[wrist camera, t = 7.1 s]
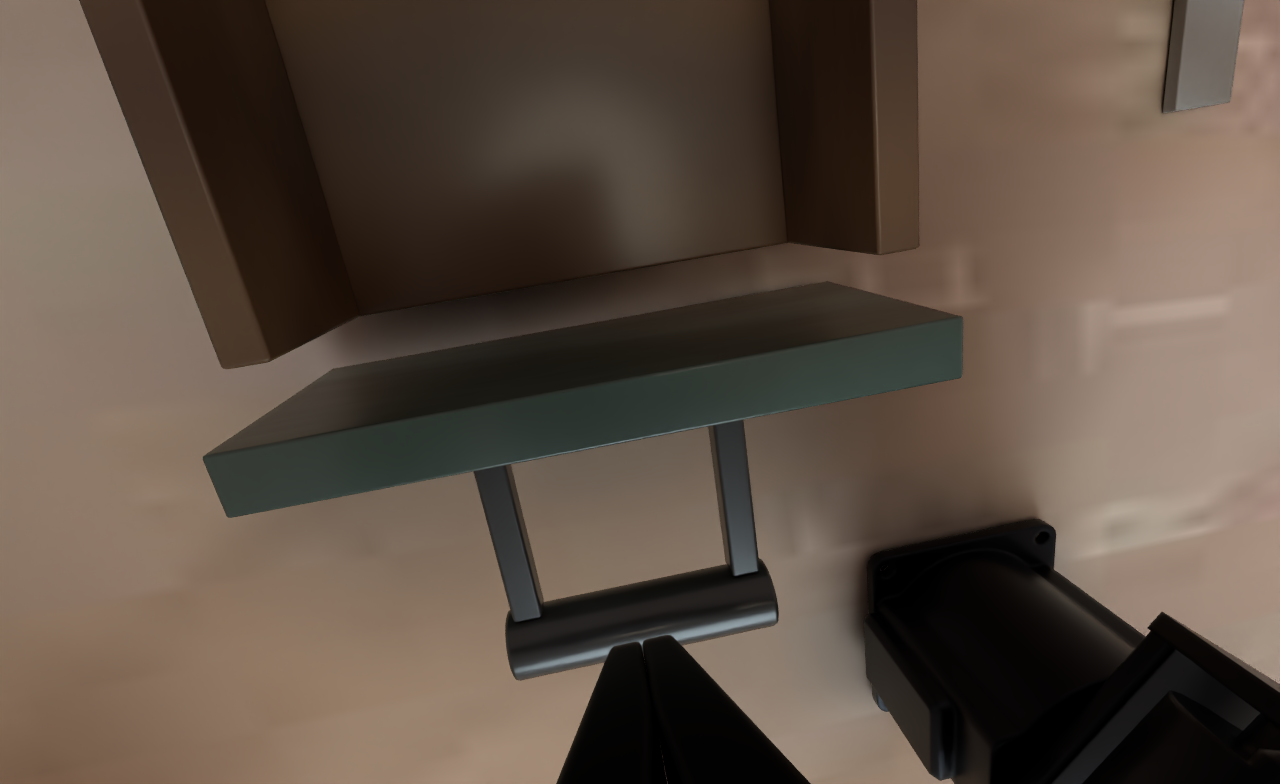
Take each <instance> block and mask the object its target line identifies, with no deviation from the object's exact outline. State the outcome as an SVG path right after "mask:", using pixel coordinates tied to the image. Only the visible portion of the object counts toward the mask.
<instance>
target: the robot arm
mask: <svg viewBox="0 0 1280 784" xmlns="http://www.w3.org/2000/svg"><path fill="white" fill-rule="evenodd" d="M1038 534H1039V535H1038ZM1037 535H1038V536H1037ZM1036 536H1037V537H1036ZM1055 542H1056V532H1055V529H1054V528H1053V527H1052V526H1050V525H1049V524H1047V523H1046V522H1044V521H1042V520H1040V519H1033V520H1028V521H1024V522H1019V523H1014V524H1009V525H1005V526H1000V527H995V528H990V529H986V530H981V531H976V532H971V533H967V534H962V535H957V536H952V537H948V538H943V539H938V540H933V541H929V542H924V543H919V544H914V545H909V546H905V547H900V548H895V549H890V550H886V551H881V552H878V553H876V554H874V555H873V556H872V557H871V558H870V559H869V561H868V563H867V582H868V605H869V613H868V614H867V615H866V618H865V620H864V635H865V657H866V675H867V678H868V680H869V681H870V683H871V684H872V695H873V699H874V700H875V702H876V704H877V705H878V707H879V708H880V709H881V710H882V711H886V712H890V714H891V715H892V717H893V718H894V720H895V721H896V723H897V724H898V726H899V727H900V729H901V731H902V732H903V734H904V735H905V737H906V738H907V740H908V741H909V743H910V744H911V746H912V748H913V749H914V751H915V752H916V754H917V755H918V757H919V758H920V760H921V761H922V763H923V765H924V766H925V768H926V769H927V771H928V772H929V774H931V775H932V776H934V777H935V778H937V779H938V780H945V779H949V778H951V779H952V781H953V782H954V784H1280V684H1278V683H1277V682H1275V681H1274V680H1272V679H1270V678H1269V677H1267V676H1266V675H1264V674H1262V673H1261V672H1259V671H1258V670H1256V669H1254V668H1253V667H1251V666H1250V665H1248V664H1246V663H1245V662H1243V661H1241V660H1240V659H1238V658H1237V657H1235V656H1233V655H1232V654H1230V653H1228V652H1227V651H1225V650H1224V649H1222V648H1220V647H1219V646H1217V645H1215V644H1214V643H1212V642H1211V641H1209V640H1207V639H1206V638H1204V637H1202V636H1201V635H1199V634H1198V633H1196V632H1194V631H1193V630H1191V629H1190V628H1188V627H1186V626H1185V625H1183V624H1181V623H1180V622H1178V621H1177V620H1175V619H1173V618H1172V617H1170V616H1168V615H1167V614H1165V613H1164V612H1161V613H1160V614H1159V615H1158V617H1157V618H1156V619H1155V620H1154V621H1153V622H1152V623H1151V624H1150V625H1149V627H1148V629H1150V630H1151V631H1150V632H1149V634H1148V635H1147V636H1146V637H1145V636H1144V635H1142V634H1141V633H1140V632H1138V631H1137V630H1136V629H1134V628H1133V627H1132V626H1130V625H1129V624H1127V623H1126V622H1125V621H1123V620H1122V619H1121V618H1119V617H1118V616H1117V615H1115V614H1114V613H1112V612H1111V611H1110V610H1108V609H1107V608H1106V607H1104V606H1103V605H1102V604H1100V603H1099V602H1097V601H1096V600H1095V599H1093V598H1092V597H1091V596H1089V595H1088V594H1087V593H1085V592H1084V591H1082V590H1081V589H1080V588H1078V587H1077V586H1076V585H1074V584H1073V583H1071V582H1070V581H1069V580H1067V579H1066V578H1065V577H1063V576H1062V575H1061V574H1059V573H1058V572H1056V571H1055V570H1054V557H1055ZM887 564H888V566H887V567H886V568H885V569H884V570H882V571H880V569H881V568H882V567H883V566H885V565H887ZM642 648H643V650H642ZM643 653H644V655H643ZM644 659H645V660H644ZM646 670H647V671H646ZM661 751H662V752H661ZM662 756H663V757H662ZM663 762H664V763H663ZM664 767H665V768H664ZM665 772H666V774H665ZM666 778H667V779H666ZM667 783H668V784H810V783H809V781H808V780H807V779H806V778H805V777H804V776H803V775H802V774H801V773H800V772H799V771H798V770H797V769H796V768H795V766H794V765H793V764H792V763H791V762H790V761H789V760H788V759H787V758H786V757H785V756H784V755H783V754H782V753H781V752H780V750H779V749H778V748H777V747H776V746H775V745H774V744H773V743H772V742H771V741H770V740H769V739H768V738H767V737H766V735H765V734H764V733H763V732H762V731H761V730H760V729H759V728H758V727H757V726H756V725H755V724H754V723H753V722H752V720H751V719H750V718H749V717H748V716H747V715H746V714H745V713H744V712H743V711H742V710H741V709H740V708H739V707H738V706H737V704H736V703H735V702H734V701H733V700H732V699H731V698H730V697H729V696H728V695H727V694H726V693H725V692H724V691H723V689H722V688H721V687H720V686H719V685H718V684H717V683H716V682H715V681H714V680H713V679H712V678H711V677H710V676H709V674H708V673H707V672H706V671H705V670H704V669H703V668H702V667H701V666H700V665H699V664H698V663H697V662H696V661H695V660H694V658H693V657H692V656H691V655H690V654H689V653H688V652H687V651H686V650H685V649H684V648H683V647H682V646H681V645H680V643H679V642H678V641H677V640H676V639H675V638H674V637H673V636H671V635H664V636H659V637H654V638H650V639H646V640H644V641H643V643H642V645H641V644H640V643H639V642H631V643H627V644H622V645H618V646H614V647H612V648H611V649H610V651H609V653H608V656H607V658H606V661H605V663H604V666H603V668H602V671H601V673H600V676H599V678H598V681H597V683H596V686H595V688H594V691H593V693H592V696H591V698H590V701H589V703H588V706H587V708H586V711H585V713H584V716H583V718H582V721H581V723H580V726H579V728H578V731H577V733H576V736H575V738H574V741H573V743H572V746H571V748H570V751H569V753H568V756H567V758H566V761H565V763H564V766H563V768H562V771H561V773H560V776H559V778H558V781H557V783H556V784H667Z"/></svg>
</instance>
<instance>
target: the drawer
mask: <svg viewBox="0 0 1280 784" xmlns="http://www.w3.org/2000/svg"><path fill="white" fill-rule="evenodd" d="M79 1H80V4H81V6H82V9H83V11H84V14H85V17H86V19H87V22H88V24H89V27H90V29H91V32H92V35H93V37H94V40H95V42H96V45H97V48H98V50H99V53H100V55H101V58H102V60H103V63H104V66H105V68H106V71H107V73H108V76H109V78H110V81H111V84H112V86H113V89H114V91H115V94H116V96H117V99H118V102H119V104H120V107H121V109H122V112H123V115H124V117H125V120H126V122H127V125H128V127H129V130H130V133H131V135H132V138H133V140H134V143H135V145H136V148H137V151H138V153H139V156H140V158H141V161H142V164H143V166H144V169H145V171H146V174H147V176H148V179H149V182H150V184H151V187H152V189H153V192H154V194H155V197H156V200H157V202H158V205H159V207H160V210H161V212H162V215H163V218H164V220H165V223H166V225H167V228H168V231H169V233H170V236H171V238H172V241H173V243H174V246H175V249H176V251H177V254H178V256H179V259H180V261H181V264H182V267H183V269H184V272H185V274H186V277H187V279H188V282H189V285H190V287H191V290H192V292H193V295H194V298H195V300H196V303H197V305H198V308H199V310H200V313H201V316H202V318H203V321H204V323H205V326H206V328H207V331H208V334H209V336H210V339H211V341H212V344H213V346H214V349H215V352H216V354H217V357H218V359H219V362H220V365H221V367H222V368H223V369H232V368H238V367H244V366H249V365H255V364H261V363H266V362H270V361H272V360H274V359H276V358H278V357H280V356H282V355H284V354H286V353H288V352H290V351H292V350H294V349H296V348H298V347H300V346H301V345H303V344H305V343H307V342H309V341H311V340H313V339H315V338H317V337H319V336H321V335H323V334H325V333H327V332H329V331H331V330H333V329H335V328H337V327H339V326H341V325H343V324H345V323H347V322H349V321H351V320H353V319H355V318H357V317H359V316H365V315H371V314H376V313H382V312H388V311H394V310H400V309H406V308H411V307H417V306H423V305H429V304H435V303H440V302H446V301H452V300H458V299H464V298H470V297H475V296H481V295H487V294H493V293H499V292H505V291H510V290H516V289H522V288H528V287H534V286H540V285H545V284H551V283H557V282H563V281H569V280H574V279H580V278H586V277H592V276H598V275H604V274H609V273H615V272H621V271H627V270H633V269H639V268H644V267H650V266H656V265H662V264H668V263H674V262H679V261H685V260H691V259H697V258H703V257H708V256H714V255H720V254H726V253H732V252H738V251H743V250H749V249H755V248H761V247H767V246H773V245H778V244H784V243H794V244H801V245H809V246H816V247H823V248H831V249H838V250H845V251H853V252H860V253H867V254H874V255H884V254H890V253H895V252H901V251H907V250H912V249H916V248H918V247H919V151H918V48H917V0H79ZM962 374H963V317H962V316H958V315H954V314H950V313H947V312H943V311H939V310H935V309H931V308H928V307H924V306H920V305H916V304H912V303H909V302H905V301H901V300H897V299H893V298H890V297H886V296H882V295H878V294H874V293H871V292H867V291H863V290H859V289H855V288H852V287H848V286H844V285H840V284H836V283H833V282H829V281H826V282H821V283H815V284H809V285H804V286H798V287H792V288H787V289H781V290H776V291H770V292H764V293H759V294H753V295H747V296H742V297H736V298H730V299H725V300H719V301H713V302H708V303H702V304H696V305H691V306H685V307H679V308H674V309H668V310H663V311H657V312H651V313H646V314H640V315H634V316H629V317H623V318H617V319H612V320H606V321H600V322H595V323H589V324H583V325H578V326H572V327H567V328H561V329H555V330H550V331H544V332H538V333H533V334H527V335H521V336H516V337H510V338H504V339H499V340H493V341H487V342H482V343H476V344H470V345H465V346H459V347H454V348H448V349H442V350H437V351H431V352H425V353H420V354H414V355H408V356H403V357H397V358H391V359H386V360H380V361H374V362H369V363H363V364H357V365H352V366H346V367H341V368H335V369H332V370H331V371H329V372H328V373H326V374H325V375H323V376H322V377H320V378H319V379H317V380H316V381H314V382H313V383H311V384H310V385H308V386H307V387H305V388H304V389H302V390H301V391H299V392H298V393H296V394H295V395H294V396H292V397H291V398H289V399H288V400H286V401H285V402H283V403H282V404H280V405H279V406H277V407H276V408H274V409H273V410H271V411H270V412H268V413H267V414H265V415H264V416H262V417H261V418H259V419H258V420H256V421H255V422H253V423H252V424H250V425H249V426H247V427H246V428H244V429H243V430H241V431H240V432H238V433H237V434H236V435H234V436H233V437H231V438H230V439H228V440H227V441H225V442H224V443H222V444H221V445H219V446H218V447H216V448H215V449H213V450H212V451H210V452H209V453H207V454H206V455H204V456H203V461H204V463H205V466H206V468H207V471H208V473H209V475H210V478H211V480H212V482H213V485H214V487H215V490H216V492H217V494H218V497H219V499H220V502H221V504H222V506H223V509H224V511H225V513H226V516H227V517H228V518H232V517H238V516H243V515H248V514H253V513H258V512H264V511H269V510H274V509H279V508H285V507H290V506H295V505H300V504H305V503H311V502H316V501H321V500H326V499H332V498H337V497H342V496H347V495H352V494H358V493H363V492H368V491H373V490H379V489H384V488H389V487H394V486H399V485H405V484H410V483H415V482H420V481H426V480H431V479H436V478H441V477H446V476H452V475H457V474H462V473H467V472H473V471H474V475H475V479H476V482H477V486H478V490H479V494H480V497H481V501H482V505H483V509H484V512H485V516H486V520H487V524H488V527H489V531H490V535H491V539H492V542H493V546H494V550H495V554H496V557H497V561H498V565H499V569H500V572H501V576H502V580H503V584H504V587H505V591H506V595H507V599H508V602H509V606H510V611H509V612H508V614H507V618H506V626H505V636H506V648H507V655H508V660H509V665H510V668H511V671H512V673H513V676H514V677H515V679H516V680H520V681H521V680H525V679H530V678H535V677H539V676H544V675H548V674H553V673H558V672H562V671H567V670H572V669H576V668H581V667H585V666H590V665H595V664H599V663H604V662H605V661H606V658H607V656H608V653H609V651H610V649H611V648H612V647H614V646H618V645H622V644H627V643H631V642H639V643H640V644H641V645H642V643H643V641H644V640H646V639H650V638H654V637H659V636H664V635H671V636H673V637H674V638H675V639H676V640H677V641H678V642H679V643H680V645H681V646H682V645H687V644H692V643H696V642H701V641H705V640H710V639H715V638H719V637H724V636H729V635H733V634H738V633H742V632H747V631H752V630H756V629H761V628H766V627H770V626H774V625H776V624H777V623H778V603H777V598H776V593H775V589H774V585H773V582H772V579H771V576H770V574H769V571H768V569H767V567H766V565H765V564H764V562H763V561H762V560H761V559H759V558H758V550H757V541H756V531H755V522H754V513H753V504H752V495H751V485H750V476H749V467H748V458H747V449H746V439H745V430H744V421H743V420H744V419H749V418H754V417H760V416H765V415H770V414H775V413H781V412H786V411H791V410H796V409H801V408H807V407H812V406H817V405H822V404H828V403H833V402H838V401H843V400H848V399H854V398H859V397H864V396H869V395H875V394H880V393H885V392H890V391H895V390H901V389H906V388H911V387H916V386H922V385H927V384H932V383H937V382H942V381H948V380H953V379H958V378H961V377H962ZM702 427H708V429H709V437H710V444H711V452H712V460H713V468H714V475H715V483H716V491H717V499H718V506H719V514H720V522H721V530H722V538H723V545H724V553H725V561H726V563H727V564H725V565H720V566H715V567H710V568H705V569H701V570H696V571H691V572H686V573H681V574H677V575H672V576H667V577H662V578H657V579H653V580H648V581H643V582H638V583H633V584H629V585H624V586H619V587H614V588H609V589H605V590H600V591H595V592H590V593H585V594H580V595H576V596H571V597H566V598H561V599H556V600H552V601H547V602H543V595H542V591H541V587H540V583H539V578H538V574H537V570H536V566H535V562H534V558H533V554H532V550H531V546H530V542H529V538H528V533H527V529H526V525H525V521H524V517H523V513H522V509H521V505H520V501H519V497H518V493H517V488H516V484H515V480H514V476H513V472H512V468H511V464H514V463H520V462H525V461H530V460H535V459H540V458H546V457H551V456H556V455H561V454H567V453H572V452H577V451H582V450H587V449H593V448H598V447H603V446H608V445H614V444H619V443H624V442H629V441H634V440H640V439H645V438H650V437H655V436H661V435H666V434H671V433H676V432H681V431H687V430H692V429H697V428H702ZM642 650H643V648H642ZM643 654H644V653H643Z"/></svg>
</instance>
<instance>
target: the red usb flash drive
mask: <svg viewBox="0 0 1280 784" xmlns="http://www.w3.org/2000/svg"><path fill="white" fill-rule="evenodd" d="M1243 6H1244V0H1175V3H1174V12H1173V21H1172V31H1171V40H1170V50H1169V59H1168V68H1167V78H1166V87H1165V97H1164V106H1163V113H1169V112H1175V111H1181V110H1187V109H1193V108H1199V107H1205V106H1212V105H1218V104H1224V103H1228V102H1230V100H1231V93H1232V86H1233V78H1234V71H1235V64H1236V57H1237V49H1238V42H1239V35H1240V27H1241V20H1242V13H1243Z"/></svg>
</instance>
